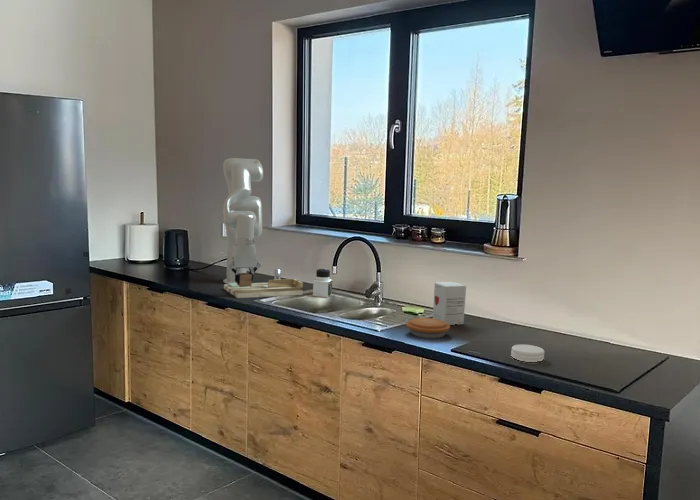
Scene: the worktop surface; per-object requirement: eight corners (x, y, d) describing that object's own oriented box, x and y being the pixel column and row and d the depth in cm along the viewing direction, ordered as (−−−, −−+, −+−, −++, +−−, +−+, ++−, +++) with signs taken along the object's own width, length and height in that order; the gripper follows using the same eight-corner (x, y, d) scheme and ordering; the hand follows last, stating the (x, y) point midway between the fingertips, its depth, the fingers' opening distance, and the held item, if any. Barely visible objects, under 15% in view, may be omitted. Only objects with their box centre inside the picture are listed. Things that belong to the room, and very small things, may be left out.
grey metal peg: (273, 283, 292) (273, 269, 292) (279, 283, 294) (279, 268, 293) (275, 284, 290) (275, 270, 289) (281, 284, 291) (281, 269, 290)
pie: (450, 331, 224) (451, 317, 224) (447, 342, 209) (448, 327, 209) (408, 327, 228) (409, 314, 227) (402, 337, 213) (403, 323, 212)
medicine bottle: (328, 297, 275) (329, 270, 274) (312, 296, 277) (313, 269, 275) (331, 294, 282) (332, 268, 281) (316, 293, 284) (317, 267, 282)
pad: (228, 284, 285) (228, 283, 285) (242, 284, 288) (242, 282, 288) (232, 287, 279) (232, 285, 279) (247, 287, 282) (247, 285, 282)
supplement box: (431, 320, 241) (433, 281, 239) (451, 318, 244) (454, 281, 242) (443, 325, 232) (446, 286, 230) (464, 324, 236) (466, 285, 234)
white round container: (506, 354, 198) (507, 343, 198) (536, 354, 199) (537, 344, 199) (517, 363, 188) (518, 352, 188) (549, 364, 189) (550, 353, 189)
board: (223, 288, 286) (224, 276, 285) (285, 285, 299) (285, 274, 298) (237, 298, 266) (237, 285, 266) (302, 294, 280) (302, 282, 279)
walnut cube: (236, 284, 273) (237, 273, 272) (247, 283, 276) (248, 272, 275) (240, 286, 269) (240, 275, 268) (251, 286, 271) (251, 275, 270)
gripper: (261, 240, 277) (259, 280, 280) (223, 240, 269) (222, 281, 272) (266, 242, 270) (265, 283, 273) (228, 243, 262) (227, 285, 265)
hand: (243, 282), depth 272 cm, fingers closed on walnut cube, 5 cm apart
